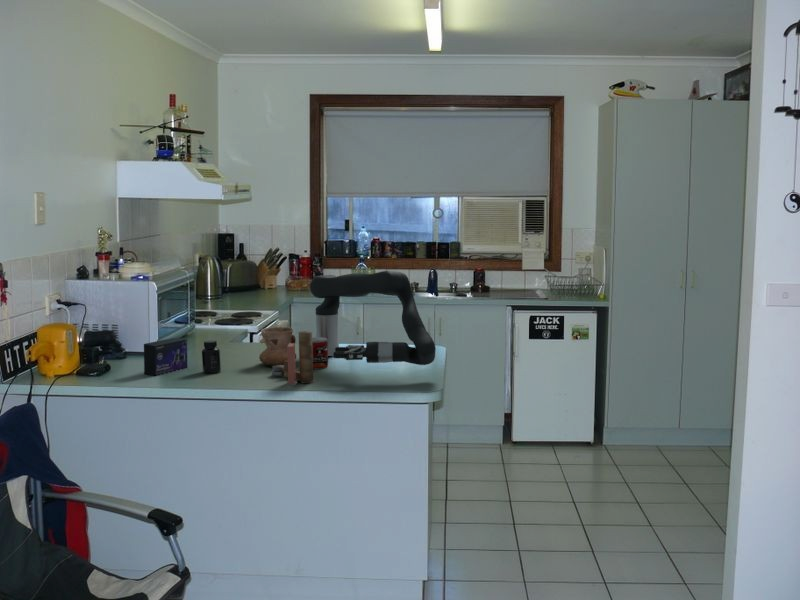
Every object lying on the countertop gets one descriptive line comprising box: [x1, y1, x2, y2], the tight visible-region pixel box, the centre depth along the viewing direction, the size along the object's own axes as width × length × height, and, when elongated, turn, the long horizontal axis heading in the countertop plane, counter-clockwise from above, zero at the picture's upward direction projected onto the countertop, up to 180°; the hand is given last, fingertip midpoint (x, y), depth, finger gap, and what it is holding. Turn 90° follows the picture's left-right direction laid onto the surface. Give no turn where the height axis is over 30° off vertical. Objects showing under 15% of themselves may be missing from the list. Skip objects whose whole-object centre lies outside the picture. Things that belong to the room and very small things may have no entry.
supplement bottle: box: [201, 339, 222, 375], centre depth 340 cm, size 7×7×12 cm
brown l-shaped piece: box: [272, 330, 314, 384], centre depth 326 cm, size 5×21×18 cm, turn 44°
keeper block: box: [286, 342, 298, 387], centre depth 319 cm, size 7×3×14 cm, turn 0°
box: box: [143, 336, 188, 376], centre depth 343 cm, size 17×7×12 cm, turn 149°
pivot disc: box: [271, 369, 285, 378], centre depth 332 cm, size 6×6×2 cm
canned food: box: [312, 336, 329, 369], centre depth 347 cm, size 8×8×11 cm
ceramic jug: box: [259, 326, 297, 367], centre depth 352 cm, size 18×14×14 cm
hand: (334, 352), depth 319 cm, fingers open, 8 cm apart
